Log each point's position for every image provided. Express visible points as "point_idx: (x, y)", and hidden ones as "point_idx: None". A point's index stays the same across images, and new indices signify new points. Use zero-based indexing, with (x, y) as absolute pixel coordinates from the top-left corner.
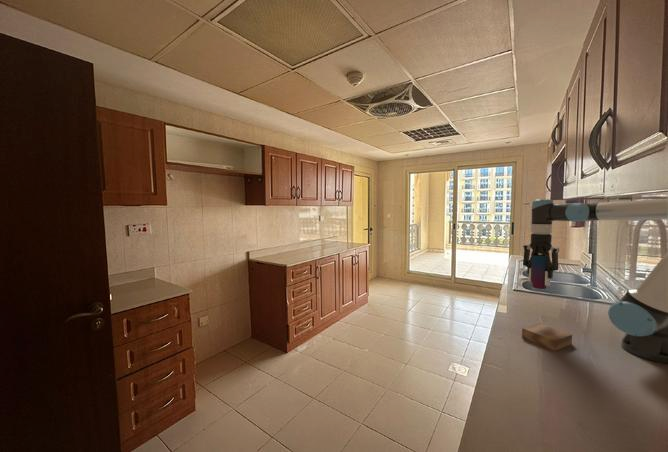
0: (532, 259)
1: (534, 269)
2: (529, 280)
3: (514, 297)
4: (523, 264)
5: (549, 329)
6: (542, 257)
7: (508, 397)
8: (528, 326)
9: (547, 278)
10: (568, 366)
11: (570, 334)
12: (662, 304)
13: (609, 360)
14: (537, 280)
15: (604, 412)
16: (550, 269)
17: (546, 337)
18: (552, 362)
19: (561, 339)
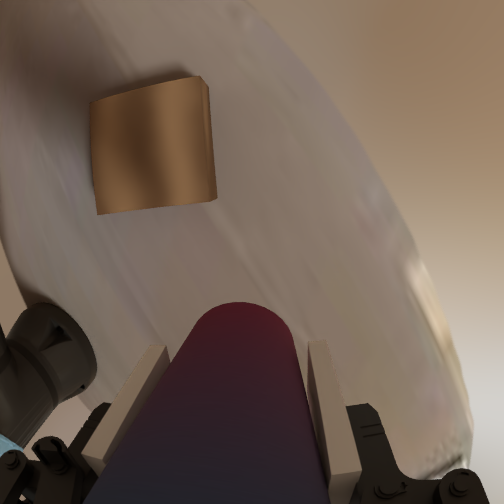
0: None
1: (219, 446)
2: (321, 351)
3: (446, 424)
4: (470, 479)
5: (150, 177)
6: None
7: None
8: (201, 117)
9: (123, 398)
10: (60, 72)
11: (100, 211)
12: None
13: (43, 209)
14: (206, 342)
15: (6, 25)
16: (46, 473)
17: (113, 95)
18: (83, 49)
19: (92, 141)
